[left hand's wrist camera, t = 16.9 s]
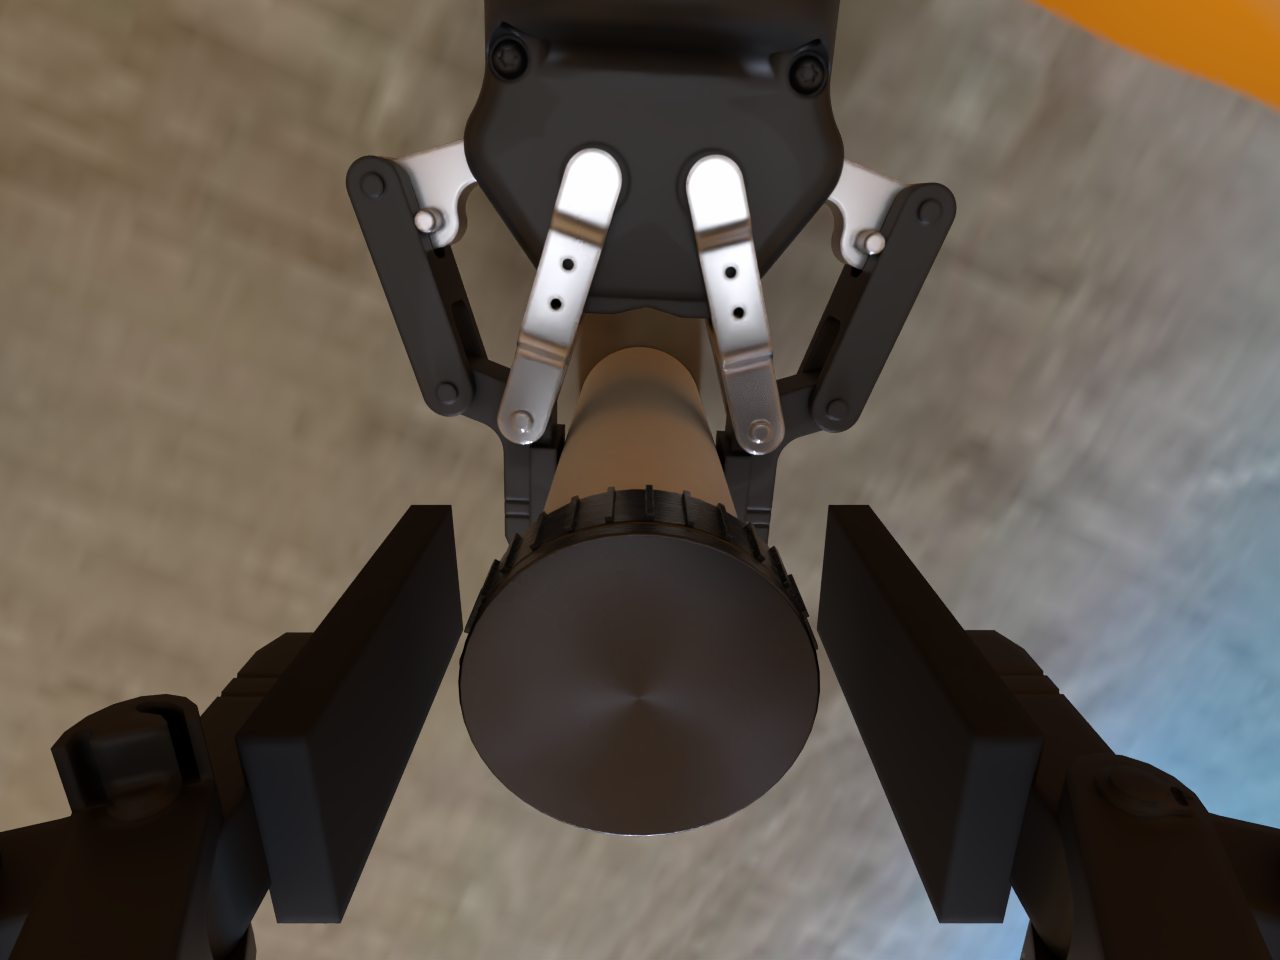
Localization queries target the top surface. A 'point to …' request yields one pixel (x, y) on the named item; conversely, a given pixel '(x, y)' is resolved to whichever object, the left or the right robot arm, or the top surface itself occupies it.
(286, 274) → the top surface
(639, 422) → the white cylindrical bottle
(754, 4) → the right robot arm
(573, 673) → the lid
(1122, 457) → the top surface
